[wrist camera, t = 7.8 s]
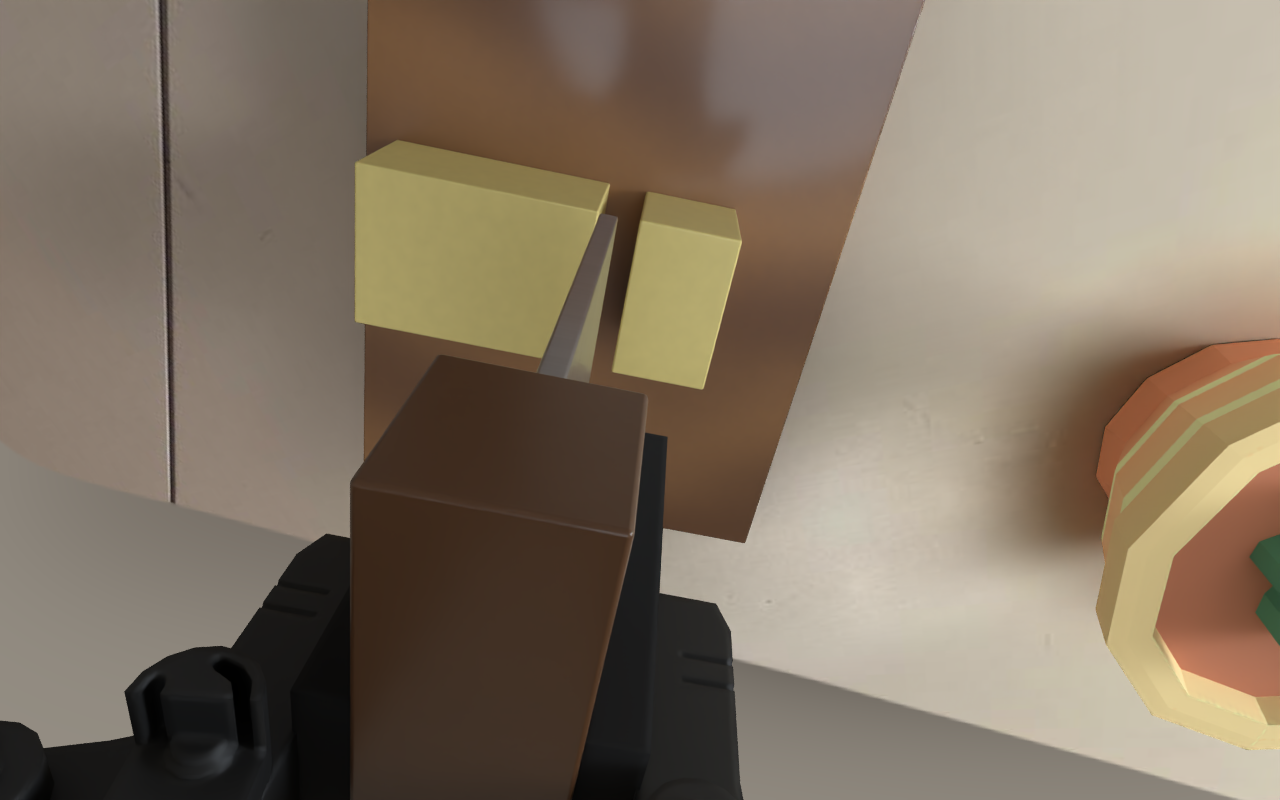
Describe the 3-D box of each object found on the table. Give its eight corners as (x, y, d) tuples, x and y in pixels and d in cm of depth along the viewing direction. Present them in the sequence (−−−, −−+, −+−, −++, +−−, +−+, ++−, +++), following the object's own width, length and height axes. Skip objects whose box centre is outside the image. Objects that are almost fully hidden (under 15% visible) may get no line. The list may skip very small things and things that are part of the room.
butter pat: (646, 190, 25) (640, 220, 21) (736, 209, 25) (742, 240, 22) (619, 328, 27) (611, 372, 24) (701, 344, 27) (703, 390, 24)
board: (388, -184, 21) (368, -195, 20) (932, -64, 22) (947, -66, 21) (376, 452, 32) (362, 472, 31) (743, 521, 33) (745, 544, 31)
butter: (396, 139, 24) (353, 161, 21) (610, 183, 24) (598, 211, 21) (392, 283, 27) (353, 322, 24) (587, 321, 27) (573, 365, 24)
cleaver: (557, 179, 16) (347, 479, 6) (669, 202, 16) (635, 533, 6) (512, 515, 20) (347, 1000, 10) (600, 531, 20) (518, 1027, 11)
